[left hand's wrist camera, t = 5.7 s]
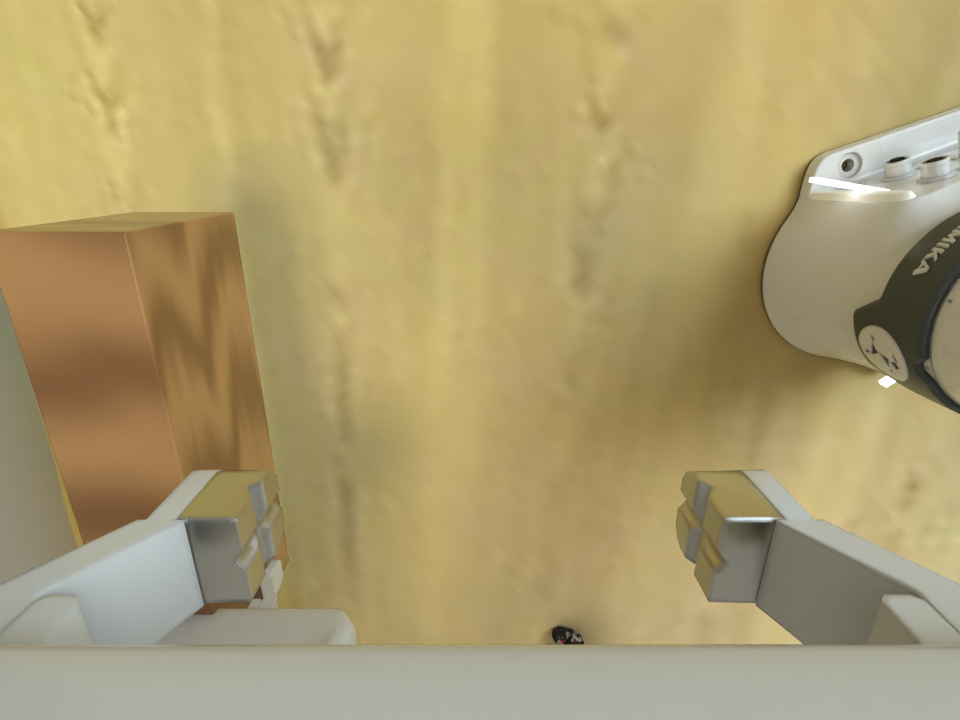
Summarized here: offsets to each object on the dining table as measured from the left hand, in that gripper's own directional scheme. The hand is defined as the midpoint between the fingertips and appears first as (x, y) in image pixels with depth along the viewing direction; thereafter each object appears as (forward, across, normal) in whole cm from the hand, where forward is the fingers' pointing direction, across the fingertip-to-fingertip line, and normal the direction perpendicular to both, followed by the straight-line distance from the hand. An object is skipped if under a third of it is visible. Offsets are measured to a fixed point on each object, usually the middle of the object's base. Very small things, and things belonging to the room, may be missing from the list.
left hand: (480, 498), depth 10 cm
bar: (+21, -17, -8) cm, 28 cm away
